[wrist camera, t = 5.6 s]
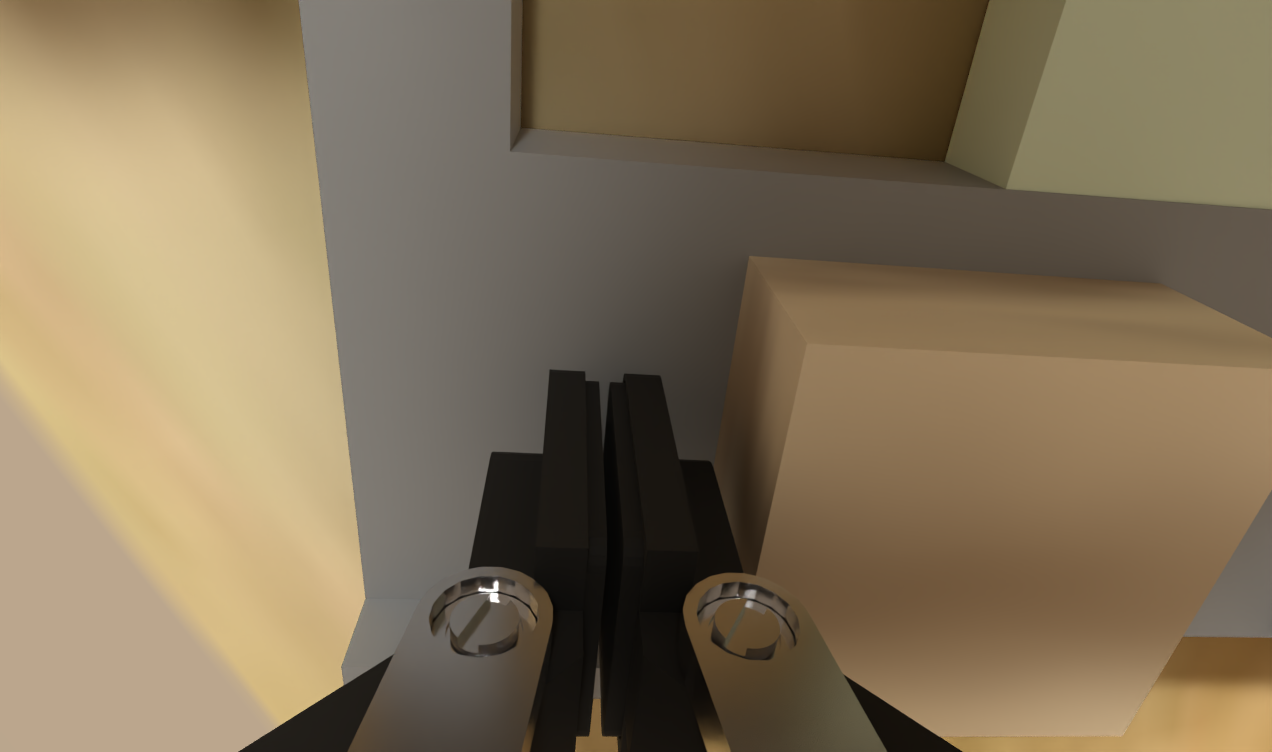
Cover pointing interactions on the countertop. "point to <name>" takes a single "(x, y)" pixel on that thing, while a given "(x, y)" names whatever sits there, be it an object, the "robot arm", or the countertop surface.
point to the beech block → (992, 480)
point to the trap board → (734, 237)
